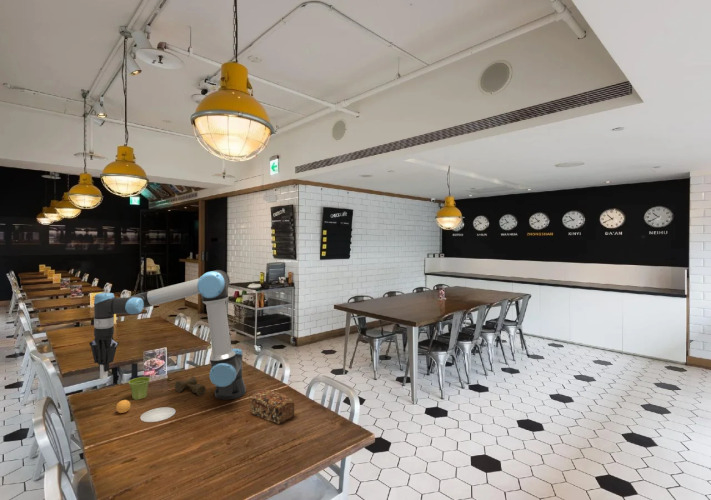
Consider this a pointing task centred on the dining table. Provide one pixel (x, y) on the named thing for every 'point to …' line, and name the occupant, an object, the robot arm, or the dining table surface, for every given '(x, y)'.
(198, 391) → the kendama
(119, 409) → the ball
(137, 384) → the plant pot
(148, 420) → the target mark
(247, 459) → the dining table surface
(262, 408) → the bread
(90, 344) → the robot arm
